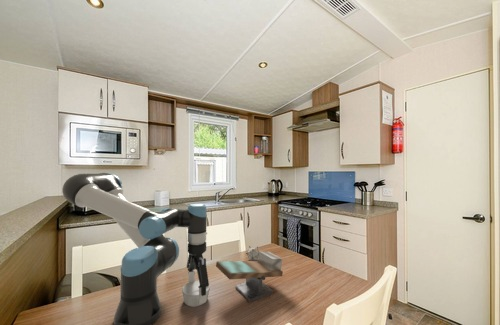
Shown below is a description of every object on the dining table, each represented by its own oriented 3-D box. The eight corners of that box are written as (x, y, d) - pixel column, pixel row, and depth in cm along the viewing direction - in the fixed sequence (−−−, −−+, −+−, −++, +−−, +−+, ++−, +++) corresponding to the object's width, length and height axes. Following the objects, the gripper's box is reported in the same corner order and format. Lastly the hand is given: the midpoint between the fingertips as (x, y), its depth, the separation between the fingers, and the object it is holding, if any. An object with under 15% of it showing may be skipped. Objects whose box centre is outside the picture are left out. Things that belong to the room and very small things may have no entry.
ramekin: (203, 310, 81) (203, 296, 81) (176, 306, 84) (176, 293, 84) (213, 294, 92) (214, 281, 92) (189, 290, 95) (190, 278, 95)
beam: (230, 282, 81) (234, 261, 82) (214, 267, 93) (218, 248, 94) (283, 278, 95) (286, 260, 96) (263, 265, 107) (265, 249, 108)
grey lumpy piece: (255, 265, 128) (264, 250, 130) (254, 266, 120) (264, 250, 122) (243, 256, 130) (252, 242, 133) (241, 256, 122) (251, 241, 125)
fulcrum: (249, 302, 87) (250, 283, 87) (235, 288, 97) (235, 271, 97) (272, 293, 93) (273, 276, 94) (257, 280, 103) (257, 265, 104)
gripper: (218, 249, 80) (217, 307, 80) (196, 232, 101) (195, 278, 100) (198, 253, 76) (198, 314, 75) (179, 235, 97) (179, 283, 96)
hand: (196, 294), depth 88 cm, fingers open, 13 cm apart
